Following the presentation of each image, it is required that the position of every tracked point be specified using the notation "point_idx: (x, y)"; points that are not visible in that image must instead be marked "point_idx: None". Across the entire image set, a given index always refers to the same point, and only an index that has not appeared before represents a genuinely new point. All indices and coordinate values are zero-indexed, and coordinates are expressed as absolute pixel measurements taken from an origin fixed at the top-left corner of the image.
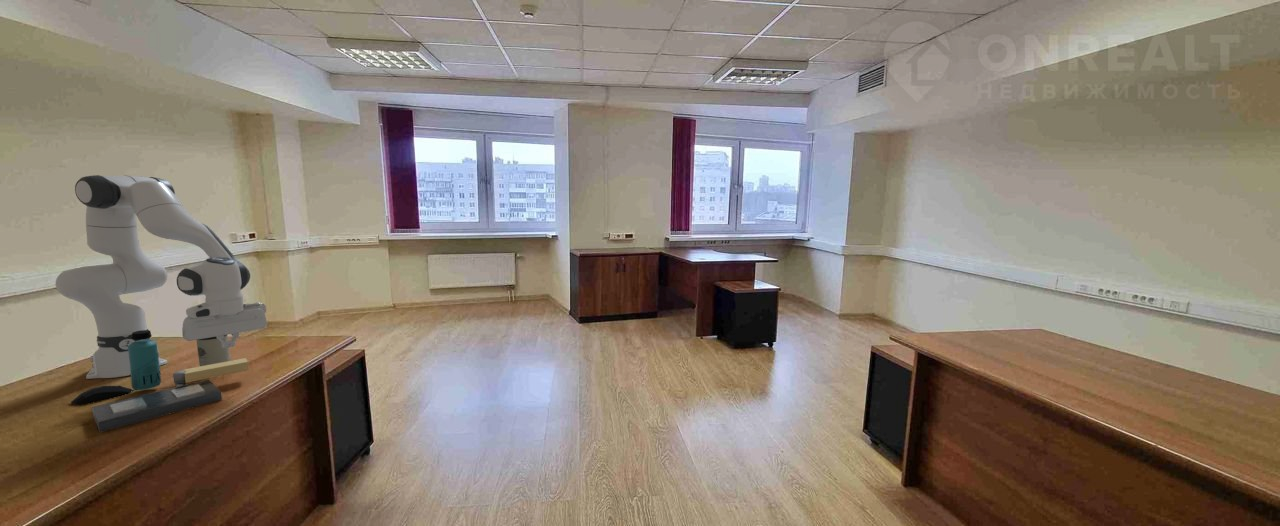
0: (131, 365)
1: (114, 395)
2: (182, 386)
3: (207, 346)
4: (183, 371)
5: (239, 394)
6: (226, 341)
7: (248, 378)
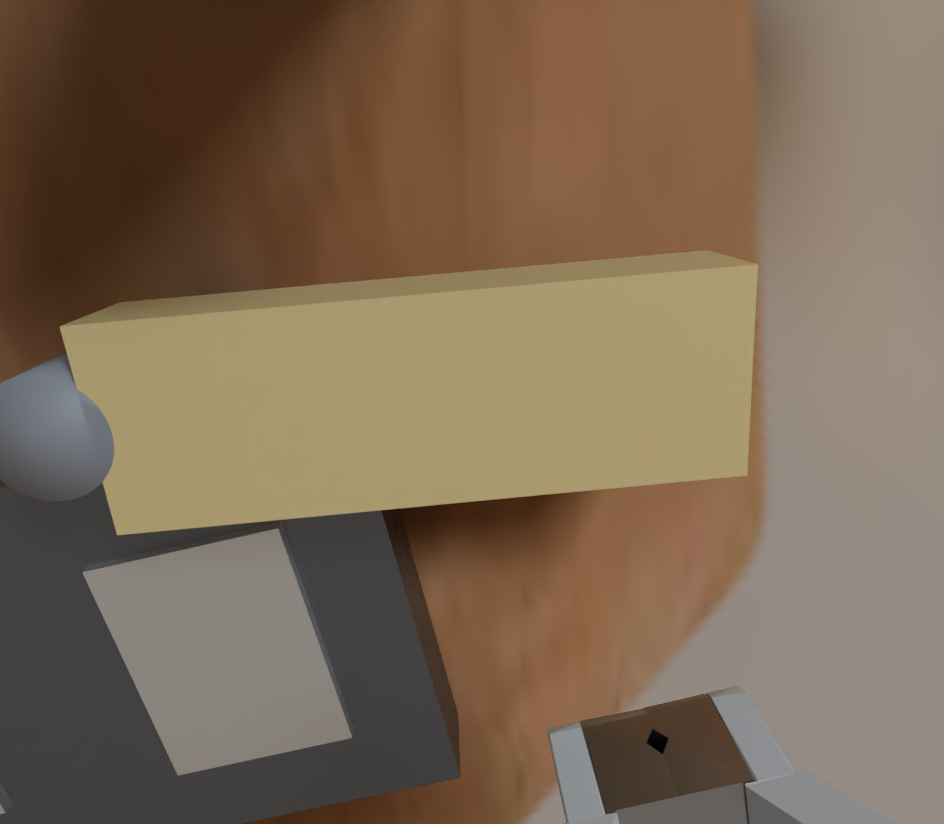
0: None
1: None
2: None
3: None
4: (78, 424)
5: (563, 672)
6: (659, 811)
7: None
